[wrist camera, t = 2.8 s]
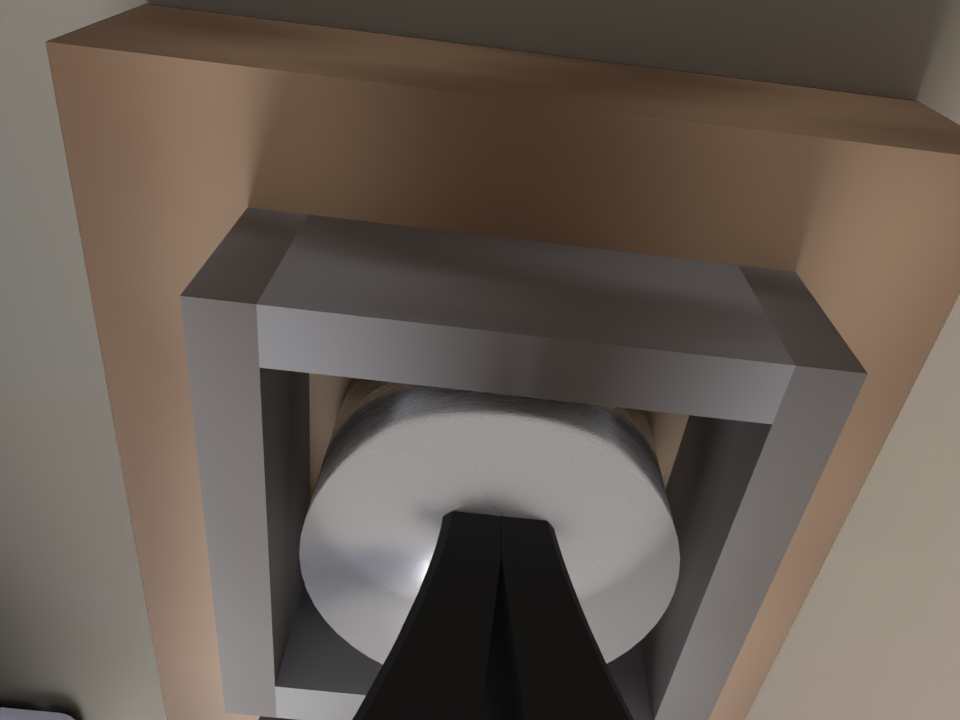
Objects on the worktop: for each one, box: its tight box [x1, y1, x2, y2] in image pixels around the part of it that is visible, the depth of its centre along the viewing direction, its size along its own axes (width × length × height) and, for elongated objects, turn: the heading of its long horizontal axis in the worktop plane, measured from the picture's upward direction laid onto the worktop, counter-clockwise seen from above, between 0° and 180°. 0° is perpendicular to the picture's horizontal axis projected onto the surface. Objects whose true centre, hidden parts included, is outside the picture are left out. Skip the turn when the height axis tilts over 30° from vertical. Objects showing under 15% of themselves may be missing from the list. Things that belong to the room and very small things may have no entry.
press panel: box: [46, 4, 960, 720], centre depth 15 cm, size 12×21×6 cm, turn 174°
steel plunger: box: [299, 378, 680, 664], centre depth 11 cm, size 5×5×2 cm
